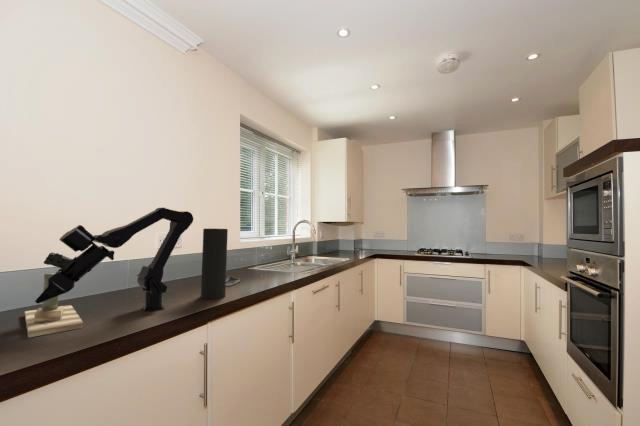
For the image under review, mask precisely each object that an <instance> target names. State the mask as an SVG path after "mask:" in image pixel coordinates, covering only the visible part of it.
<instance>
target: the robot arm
mask: <svg viewBox="0 0 640 426" xmlns="http://www.w3.org/2000/svg"><path fill="white" fill-rule="evenodd" d="M161 220H167V221H169V230H168V232H167V234H166V235H165V238H164V239H163V241H162V243H161V245H160V247H159V248H158V250H157V252H156V253H155V255H154V258H153V260H152V261H151V263H150V264H149V265H147V266H146V265H142V267H141V269H140V271H139V273H138V274H137V275H136V277H137V281H136V282H137V284H138V285H139V287H141V288H142V291H143V292H145V295H144V305H143V306H142V308H143V311H144V312H149V311H155V310H156V311H157V310H164V309H165V307H164V304H163V293H166V291H167V289H168V286H167V285H166V284H165V283H163V282H162V279H163V276H164V268H165V267H166V264H167V262H168V261H169V258H170V256H171V255H172V253H173V251H174V250H175V247H176V245H177V243H178V242H179V240H180V237H181V236H182V235H183V233H185V231H186V230H188V229H189V227H190V226H191V225H192V224H193V222H194V217H193V214H192V213H191V212H190V211H183V210H181V211H178V210H174V209H169V208H167V207H158V208H155V209H154V210H153V211H150V212H149V213H147V214H145V215H143V216H141V217H139V218H137V219H136V220H134V221H132V222H129V223H128V224H125V225H122V226H118V227H115V228H112V229H110V230H106V231H104V232H103V233H102V234H94V235H93V234H92V233H90V232H89V231H88V230H87V229H86V228H85V227H84V226H83V225H80V224H79V225H77V226H75V227H73V228H72V229H70V230H68V231H67V232H65V233H64V234H62V236H60V238H59V241H60V242H62V243H63V244H64V245H66V246H67V247H68V248H70V250H72V251H74V253H76V252H78V251H80V252H82V253H80V254H79V255H78V256H75V257H73V258H71V257H68V256H64V254H60V253H58V252H56V253H55V252H49V254H48V255H47V256H46V257H45V260H44V261H43V264H45V265H47V266H49V265H50V266H53V267H56V268H58V270H57V271H56V272H54V273H55V274H54V275H53V276H51V277H50V278H49V279H48V287H47V288H46V289H45V290H44V292H42V293H40V295H39V296H38V297H37V298H36V299H35V300H34V302H35V303H36V304H40V303H43V301H46V300H48V299H51V298H53V297H56V296H58V297H59V296H61V295H63V294H66V293H69V292H70V291H71V290H72V289H73V288H75V286H76V283H77V282H79V281H80V280H81V279H82V278H83V277H84V276H85V275H87V274H88V273H90V272H91V271H92V270H93V269H94V268H95V267H97V266H98V265H99V263H101V262H103V260H105V259H106V258H109V259H110V260H111V261H114V259H115V257H114V256H115V254H116V252H115V250H109V249H108V248H113V249H118V248H120V247H122V246H123V245H124V244H126V243H127V242H129V241H130V240H131V239H132V237H133V236H134V235H136V234H138V233H139V232H142V231H143V230H145V229H146V228H148V227H150V226H153V225H155V223H157V222H159V221H161ZM96 243H98V244H102V245H97V244H96ZM107 247H108V248H107Z"/></svg>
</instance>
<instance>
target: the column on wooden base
mask: <svg viewBox="0 0 640 426" xmlns="http://www.w3.org/2000/svg"><path fill="white" fill-rule="evenodd" d="M55 273H56V272H52V273H51V272H49V273H44V275H43V289H42V291H43V292H44V290H45V289H46V288H47V287H48V279H49V278H50V277H51V276H53V275H54V274H55ZM43 292H42V293H43ZM41 303H42V304H41V305H42V306H41V307H39V308H37V309H36V310H37V311H36V312H35V318H34V323H41V322H49V321H58V320H61V318H62V316H63V309H64V306H65V305H60V306H59V305H58V304H59V296H56V297H53V298H51V299H48V300H46V301H43V302H41Z"/></svg>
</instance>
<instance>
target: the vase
mask: <svg viewBox="0 0 640 426" xmlns="http://www.w3.org/2000/svg"><path fill="white" fill-rule="evenodd" d="M202 234H203V235H202V254H201V255H202V258H201V280H200V281H201V285H200V298H201V299H203V300H218V299H222V298H224V297H226V287H227V286H226V283H227V282H226V279H227V263H228V262H227V257H228V256H227V255H228V228H203V233H202Z"/></svg>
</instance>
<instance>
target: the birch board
mask: <svg viewBox="0 0 640 426" xmlns="http://www.w3.org/2000/svg"><path fill="white" fill-rule="evenodd" d="M63 306H64V309H63V316H62V318H61V320H58V321H49V322H41V323H34V318H35V312H36V311H37V310H38V309H32V310H25V311H24V319H25V325H26V333H27V337H28V338H32V337H38V336H39V337H40V336H45V335H50V334H56V333H60V332H66V331H67V332H68V331H71V330H77V329H82V328H84V322H83V320H82V318H81V317H80V315H79V314H78V313H77V311H76V310H75V308H74V307H73V306H72V304H69V305H67V304H66V305H63Z"/></svg>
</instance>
